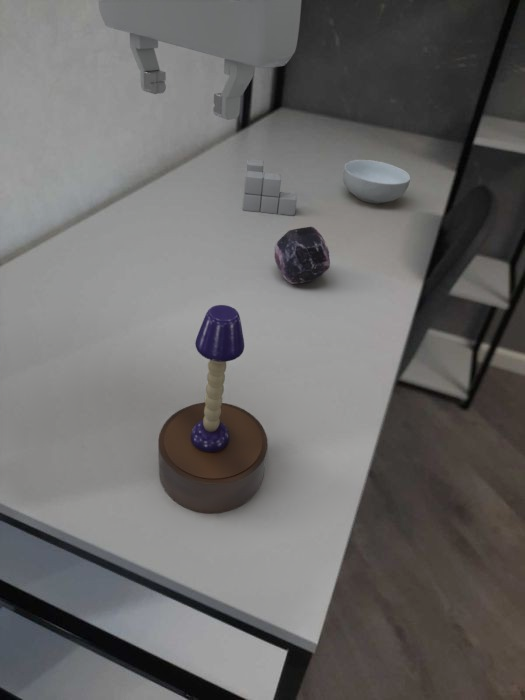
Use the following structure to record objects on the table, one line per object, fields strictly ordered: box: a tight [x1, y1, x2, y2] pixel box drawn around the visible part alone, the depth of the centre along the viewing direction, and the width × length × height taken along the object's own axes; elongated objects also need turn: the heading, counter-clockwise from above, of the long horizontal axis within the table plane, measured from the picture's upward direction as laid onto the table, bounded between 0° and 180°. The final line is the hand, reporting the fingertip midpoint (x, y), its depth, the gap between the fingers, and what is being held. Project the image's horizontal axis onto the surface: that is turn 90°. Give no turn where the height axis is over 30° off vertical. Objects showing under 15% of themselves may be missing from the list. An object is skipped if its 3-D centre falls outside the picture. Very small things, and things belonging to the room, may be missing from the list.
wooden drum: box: [157, 401, 269, 514], centre depth 59 cm, size 12×12×5 cm
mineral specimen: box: [273, 226, 331, 285], centre depth 95 cm, size 10×10×10 cm
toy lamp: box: [191, 304, 245, 452], centre depth 52 cm, size 5×5×17 cm
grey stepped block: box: [242, 158, 297, 216], centre depth 122 cm, size 12×12×8 cm
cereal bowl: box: [342, 159, 411, 204], centre depth 132 cm, size 17×17×7 cm
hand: (188, 104), depth 47 cm, fingers open, 8 cm apart
